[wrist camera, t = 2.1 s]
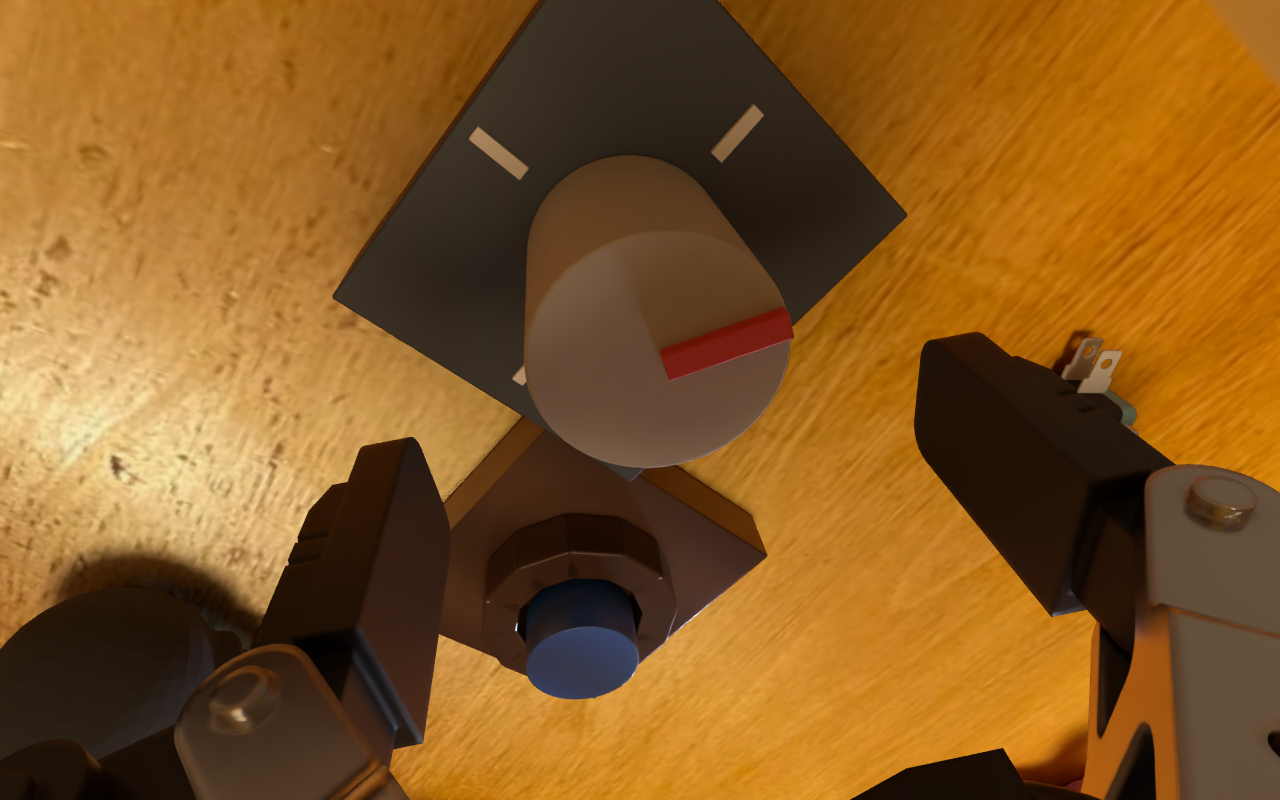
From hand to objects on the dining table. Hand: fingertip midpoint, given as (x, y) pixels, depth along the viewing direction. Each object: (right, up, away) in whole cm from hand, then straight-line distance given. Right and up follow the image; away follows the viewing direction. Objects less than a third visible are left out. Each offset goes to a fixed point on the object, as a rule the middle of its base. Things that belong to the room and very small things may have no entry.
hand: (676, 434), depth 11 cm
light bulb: (-18, -8, +15) cm, 25 cm away
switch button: (-3, -7, +12) cm, 14 cm away
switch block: (-3, -5, +15) cm, 16 cm away
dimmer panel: (-1, +6, +9) cm, 11 cm away
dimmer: (-1, +4, +6) cm, 8 cm away
